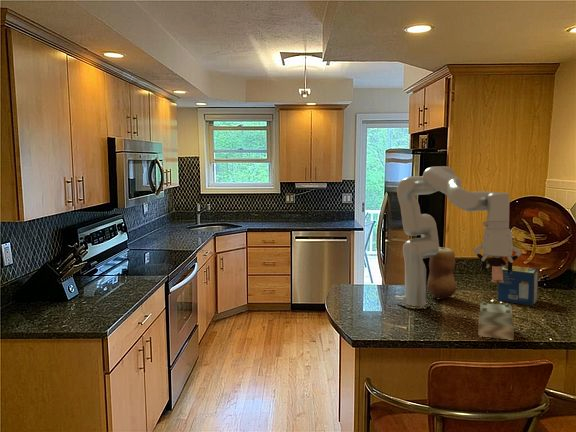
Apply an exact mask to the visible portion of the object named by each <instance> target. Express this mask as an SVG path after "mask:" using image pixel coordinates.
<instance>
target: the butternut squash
mask: <svg viewBox="0 0 576 432" xmlns="http://www.w3.org/2000/svg"><path fill="white" fill-rule="evenodd" d="M455 265H456V253H455V251H454V250H453V249H451V248H449V247H441V246H439V251H438V253H437V255H435V256H433V257H429V262H428V268H429V273H428V278H427V280H426V287H427V289H428V291H429V292H430V294H432V296H435V297H436V298H440V299H439V300H442V299H443V298H445V299H447V298H449V297H452V296H453V295H454V294H455V292H456V291H457V283H456V280H455V277H454V270H455ZM435 297H434V298H435Z"/></svg>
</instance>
